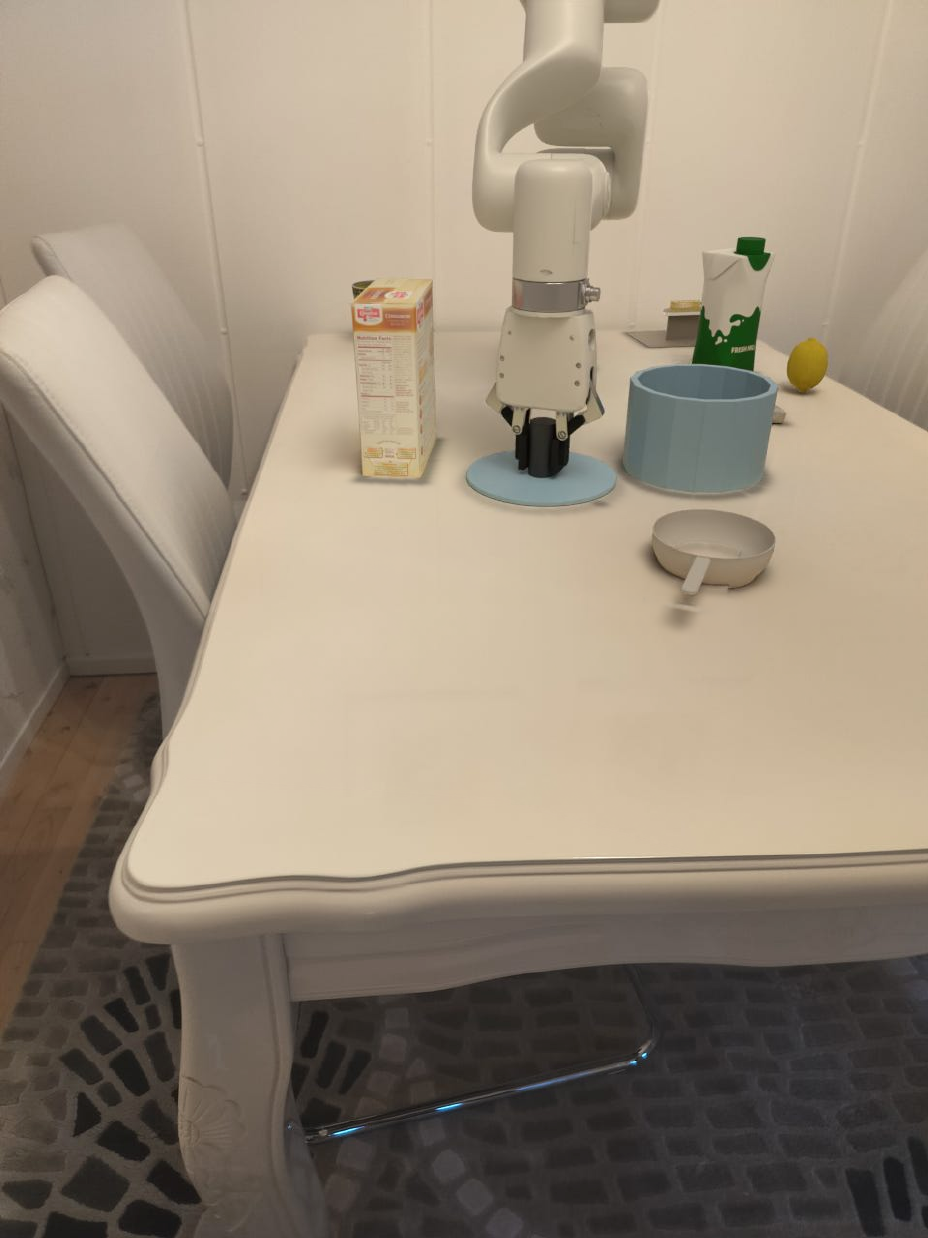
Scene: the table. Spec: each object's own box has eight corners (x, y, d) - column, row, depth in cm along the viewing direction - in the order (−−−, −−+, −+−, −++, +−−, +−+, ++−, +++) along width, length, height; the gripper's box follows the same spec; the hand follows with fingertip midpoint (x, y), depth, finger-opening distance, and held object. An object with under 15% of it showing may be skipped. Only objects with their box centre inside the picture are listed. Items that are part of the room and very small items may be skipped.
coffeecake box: (383, 438, 113) (375, 276, 104) (438, 440, 113) (435, 277, 103) (359, 480, 100) (347, 300, 91) (421, 482, 100) (416, 301, 90)
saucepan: (775, 553, 84) (782, 515, 82) (751, 645, 69) (759, 602, 67) (661, 535, 87) (666, 499, 85) (616, 619, 73) (620, 577, 71)
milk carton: (723, 381, 137) (743, 242, 127) (681, 369, 144) (697, 235, 134) (762, 373, 141) (784, 237, 131) (719, 362, 148) (737, 231, 138)
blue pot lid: (442, 497, 96) (441, 433, 92) (498, 450, 109) (499, 393, 106) (592, 521, 90) (597, 454, 87) (631, 468, 104) (637, 408, 100)
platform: (627, 333, 167) (630, 296, 164) (717, 329, 170) (722, 293, 167) (649, 347, 157) (652, 308, 154) (744, 343, 160) (750, 305, 156)
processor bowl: (608, 485, 99) (616, 391, 94) (640, 443, 111) (648, 358, 106) (752, 505, 94) (768, 408, 88) (768, 459, 106) (784, 371, 101)
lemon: (824, 398, 129) (835, 342, 125) (784, 396, 130) (794, 340, 126) (819, 388, 133) (829, 334, 129) (780, 386, 134) (790, 332, 130)
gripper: (637, 295, 90) (621, 467, 99) (487, 285, 96) (485, 449, 105) (618, 308, 84) (603, 490, 93) (460, 296, 90) (460, 469, 99)
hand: (541, 467), depth 99 cm, fingers closed on blue pot lid, 3 cm apart
